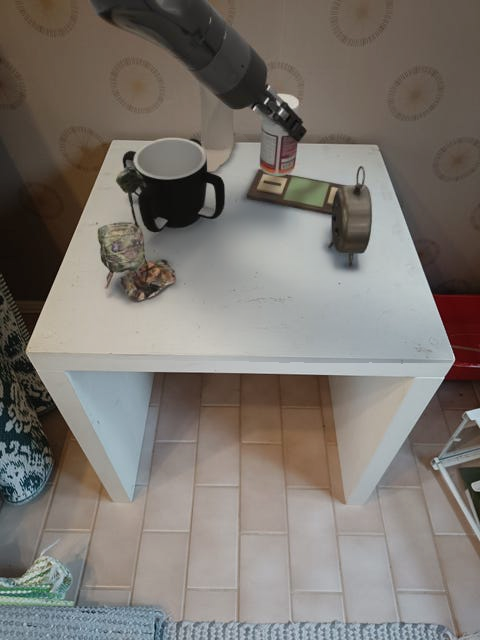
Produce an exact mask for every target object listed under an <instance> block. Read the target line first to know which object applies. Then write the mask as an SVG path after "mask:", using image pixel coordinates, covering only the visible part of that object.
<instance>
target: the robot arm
mask: <svg viewBox="0 0 480 640" xmlns="http://www.w3.org/2000/svg"><path fill="white" fill-rule="evenodd" d="M87 2H88V4H89V6H90V7H91V8H92V10H93V11H94V12H95V14H96V15H97V16H98V17H99V18H100V19H101V20H103V21H104V22H106V23H107V24H109V25H111V26H113V27H115V28H117V29H120V30H122V31H125V32H127V33H129V34H132V35H134V36H137V37H138V38H141V39H143V40H145V41H146V42H147V41H148V42H150V43H152V44H153V45H155V46H157V47H159V48H161V49H163V50H164V51H166V52H167V53H168V54H169V55H170V56H172V57H173V58H174V59H175V60H177V62H179V63H180V64H181V65H182V66H183V67H185V69H187V71H188V72H190V74H191V75H192V76H193V77H194V79H196V81H197V82H198V83H199V82H200V83H201V84H202V85H203V86H204V87H206V88H207V89H208V90H209V91H210V92H211V93H213V94H214V95H215V96H216V97H217V98H218V99H220V100H221V101H222V102H223V103H224V104H225V105H227V106H228V107H229V108H231V109H233V110H236V111H237V110H243V109H245V108H249V109H250V110H252V111H253V112H254V113H255V114H256V115H258V116H261V117H262V118H263V117H264V118H265V119H266V120H267V121H268V122H269V123H271V124H272V125H274V126H275V125H278V126H279V127H281V128H282V129H283V131H284V132H287V133H288V135H290V136H291V137H292V138H293V139H294V140H296V141H297V142H298V143H299V142H301V140H303V138H304V136H305V135H306V134H307V128H306V127H304V126H303V123H304V121H303V119H302V118H301V117H300V116H299V115H297V114H296V113H295V112H294V111H293V110H292V109H291V108H290V107H289V106H288V103H286V102H284V101H283V100H282V99H281V98H280V97H279V96H278V95H277V94H278V93H277V91H276V90H275V89H274V87H272V86H271V85H270V84H269V83H268V82H267V80H268V68H267V67H268V66H267V64H266V62H265V60H264V59H263V58H262V57H261V56H260V55H259V53H258V52H257V51H256V50H255V49H254V48H253V47H252V46H251V44H250V43H249V42H248V41H247V40H246V38H245V37H244V36H243V35H242V34H241V33H240V32H239V31H238V30H237V28H235V27H234V26H233V25H232V24H231V23H229V22H228V21H227V20H225V18H223V16H222V15H221V13H219V12H218V11H217V10H216V8H214V6H212V4H211V3H210V2H209V1H208V0H161V1H160V2H159V1H158V0H87ZM276 100H277V101H278V102H279V103H280V106H279V105H277V101H276ZM273 112H274V115H273V116H272V118H270V117H269V116H268V115H270V114H272V113H273ZM266 114H267V115H266Z"/></svg>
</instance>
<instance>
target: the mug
mask: <svg viewBox="0 0 480 640" xmlns="http://www.w3.org/2000/svg"><path fill="white" fill-rule="evenodd" d="M122 165H123V169H125V168H126V167H127V166H129V165H130V166H132V167H133V168H134V169H136V171H138V172H139V173H140V174H141V176H142V177H143V182H144V183H145V184H146V185H147V186H146V187H144V186H143V185H140V186H139V187H138V188H137V190H136V191H135V192H134V193H133V194H134V195H136V196H137V197H138V199H137V203H138V209H139V213H140V214H139V215H140V217H141V221H142V224H143V226H144V227H145V229H146V230H147V231H148V232H150V233H153V234H157V233H161V232H162V231H163V230H164V229H165V228H169V229H181V228H186V227H189V226H191V225H194V224H195V223H196V222H198V220H199V219H200V218H203V219H207V220H215V219H217V218H219V217H220V216H221V214H222V213H223V211H224V209H225V205H226V204H225V203H226V188H225V182H224V180H223V178H222V177H221V176H220V175H218V174H215V173H212V172H207V156H206V152H205V150H204V149H203V148H202V145H201V140H199V139H197V138H190V139H187V138H182V137H164V138H158V139H154V140H152V141H150V142H147V143H146V144H143V145H142V146H141V147H139V149H138V150H137V151H135V150H127V152H125V153H124V154H123V156H122ZM208 184H209V185H212V186H213V189H214V198H215V199H214V201H215V202H214V203H215V204H214V209H213V208H209V207H206V206H205V202H206V196H207V195H206V194H207V185H208Z"/></svg>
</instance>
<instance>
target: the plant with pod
mask: <svg viewBox="0 0 480 640" xmlns="http://www.w3.org/2000/svg"><path fill="white" fill-rule="evenodd" d="M115 182H116V184H117V185H118V186H119V188H120V189H121V190H122V192H124V193H125V194H127V197H128V201H129V204H130V209H131V215H132V219H133V222H134V223H133V222H132V221H131V222H128V221H119V222H113V223H110V224H105V225H103V226H100V227H98V228H97V241H98V243H99V245H100V248H99V249H100V250H99V255H100V261H101V263H102V264H103V266H105V268H107V269H108V271H109V272H108V274H107V276H106V281H105V285H104V289H106V290H107V289H108V287H109V286H110V283H111V280H112V278H113V276H114V273H116V274H119V273H124V272H125V273H124V274H122V276H121V277H119V279H120V280H119V284H120V285H121V286H122V287H123V289H124V292H125V294H126V295H127V296H128V299H130V300H132V301H133V302H137V301H138V302H140V301H143V300H146V299H148V298H151V297H154V296H156V295H157V294H158V293H159V292H160V291H161V290H162V289H166V288H167V285H170V284H175V283H176V280H177V279H176V278H177V277H176V275H175V274H174V273H175V271H176V270H173V269H171V266H170V264H168V260H167V259H162V258H161V259H159V260H156V261H154V262H153V261H147V258H146V253H145V252H146V250H145V235H144V233H143V229H142V228H141V226H140V225H139V224H138V220H137V215H136V212H135V207H134V200H133V195H132V194H135V193H134V192H135V191H136V190H137V188H138V187H139V186H140V185H143V186H144V187H146V186H147V185H146V184H145V183H144V182H143V177H142V176H141V174H140V173H139V172H138V171H136V169H134V168H133V167H132V166H130V165H129V166H127V167H126V168H125V169H124V168H123V169H122V170H121V171H119V172H118V174H117V176H116V179H115ZM98 224H99V222H95V224H94V225H95V226H96V225H97V226H98Z"/></svg>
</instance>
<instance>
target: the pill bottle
mask: <svg viewBox="0 0 480 640" xmlns="http://www.w3.org/2000/svg"><path fill="white" fill-rule="evenodd" d="M276 94H277V95H278V96H279V97H280V98H281V99H282V100H283V101H284V102H286V103H288V106H289V107H290V108H291V109H292V110H293V111H294V112H295V113H296V114H297V116H299V107H300V101H299V99H298V98H297V97H296V96H294V95H292V94H289V93H276ZM276 101H277V100H276ZM277 105H279V106H280V103H279V102H278V101H277ZM266 115H267V114H266ZM273 115H274V112H273V113H272V114H270V115H268V116H269V117H270V118H272V116H273ZM260 126H261V128H260V148H259V149H260V150H259V167H260V169H261V170H263V171H264V172H265V173H267V174H269V175H273V176H283V175H287V174H288V175H290V174H291V173H292V172H293V171H294V170H295V167H296V160H297V152H298V144H299V142H297V141H296V140H294V139H293V138H292V137H291V136H290V135H288V133H287V132H284V131H283V129H282V128H281V127H279V126H278V125H275V126H274V125H272V124H271V123H269V122H268V121H267V120H266V119H265V118H264V117H262V119H261V125H260Z"/></svg>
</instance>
